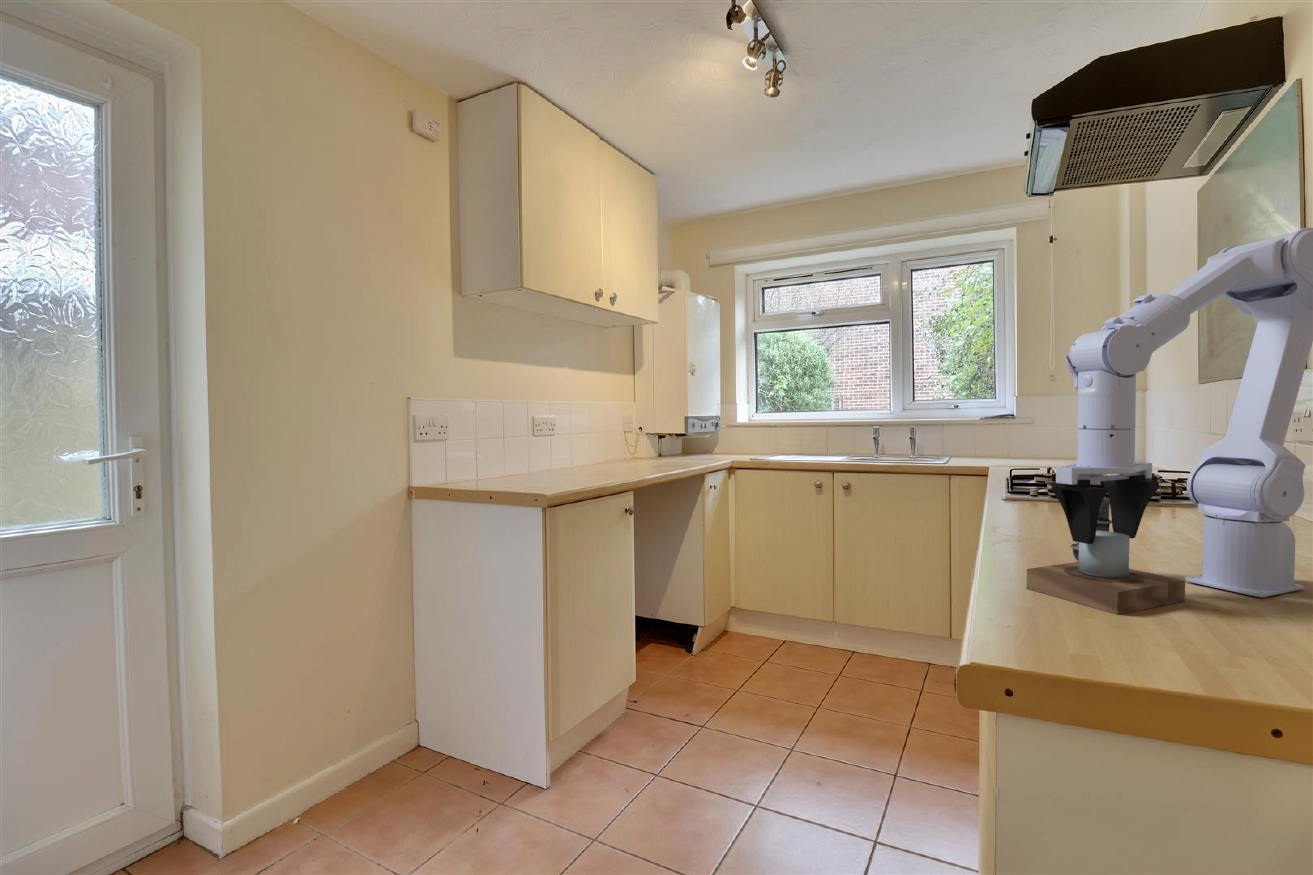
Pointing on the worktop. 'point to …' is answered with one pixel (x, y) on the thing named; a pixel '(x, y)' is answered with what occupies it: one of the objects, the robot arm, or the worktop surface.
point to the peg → (1105, 556)
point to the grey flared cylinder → (1101, 524)
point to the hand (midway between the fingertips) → (1104, 539)
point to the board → (1107, 588)
